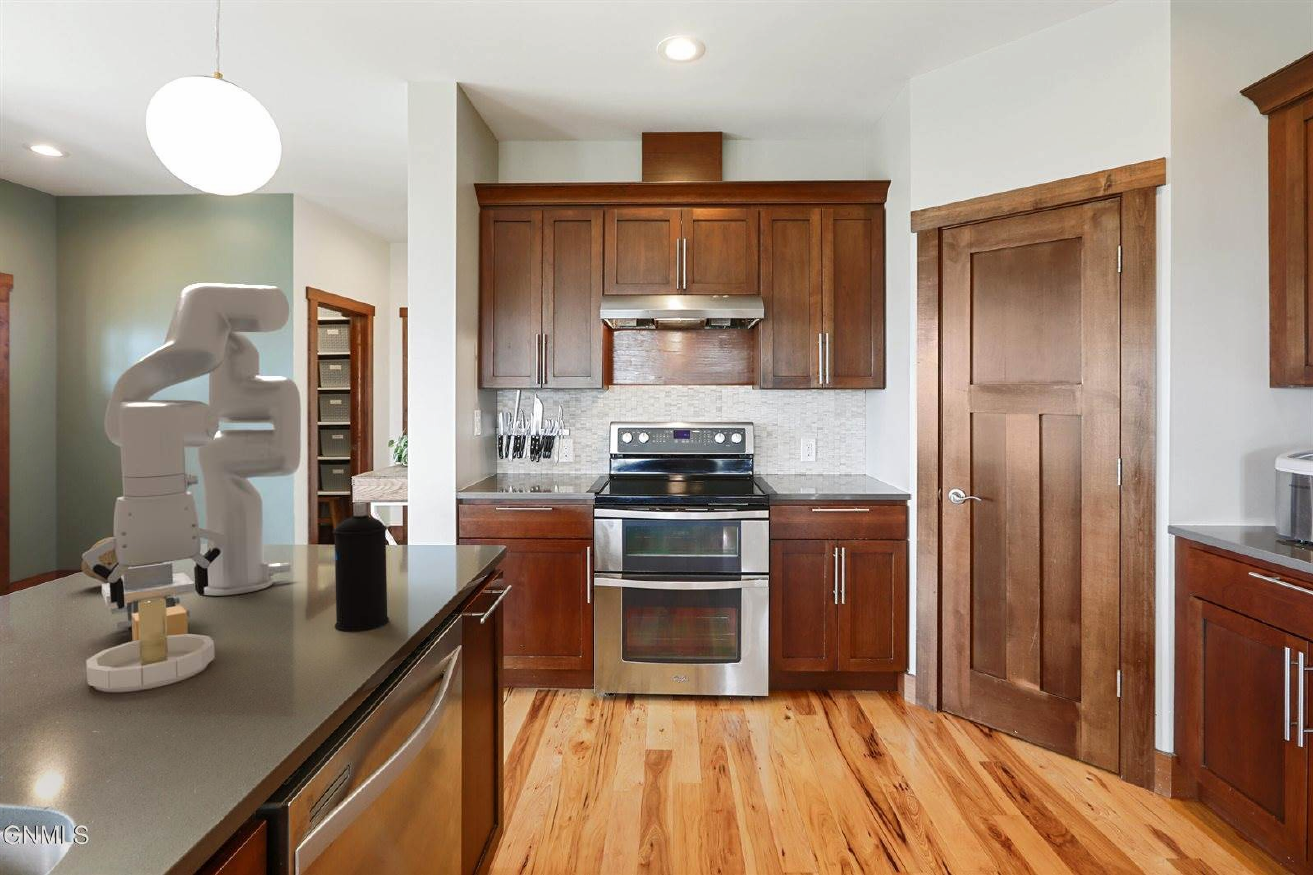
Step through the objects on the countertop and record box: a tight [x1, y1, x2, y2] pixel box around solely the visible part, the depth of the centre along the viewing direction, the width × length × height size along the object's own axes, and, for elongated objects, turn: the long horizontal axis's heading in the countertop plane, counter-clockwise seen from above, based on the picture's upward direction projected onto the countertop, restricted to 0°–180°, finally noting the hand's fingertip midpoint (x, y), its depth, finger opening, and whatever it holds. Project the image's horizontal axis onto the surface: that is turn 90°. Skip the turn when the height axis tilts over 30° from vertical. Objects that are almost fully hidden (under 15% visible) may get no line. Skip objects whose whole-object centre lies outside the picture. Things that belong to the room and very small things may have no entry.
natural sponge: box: [81, 536, 117, 584], centre depth 135 cm, size 9×9×10 cm
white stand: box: [101, 561, 196, 630], centre depth 107 cm, size 11×16×10 cm
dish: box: [85, 633, 215, 693], centre depth 90 cm, size 13×13×3 cm
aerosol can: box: [332, 502, 390, 632], centre depth 110 cm, size 8×8×20 cm
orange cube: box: [131, 605, 189, 641], centre depth 99 cm, size 6×5×6 cm
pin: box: [138, 597, 168, 666], centre depth 90 cm, size 3×3×9 cm
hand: (161, 599), depth 100 cm, fingers open, 9 cm apart
